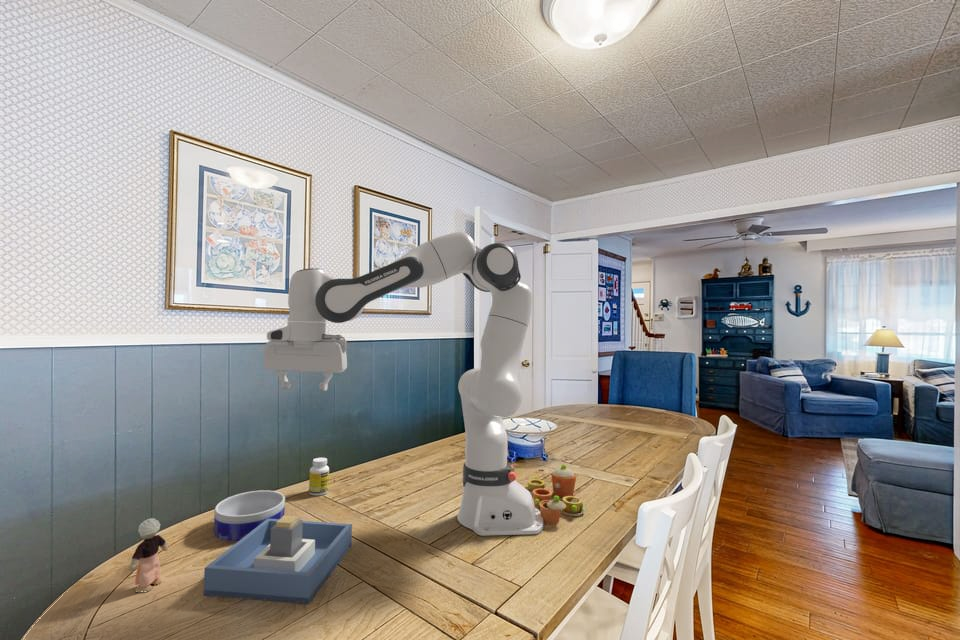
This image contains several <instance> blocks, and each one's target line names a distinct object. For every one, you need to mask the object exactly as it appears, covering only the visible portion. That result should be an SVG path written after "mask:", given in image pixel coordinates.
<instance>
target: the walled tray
mask: <svg viewBox="0 0 960 640" xmlns="http://www.w3.org/2000/svg"><path fill="white" fill-rule="evenodd" d="M278 520H279V519H266V520H265V521H264V522H263V523H261V524H260V525H259V526H258V527H256V528H255V529H254V530H252V531H251V532H250V533H249V534H247V535H246V536H245V537H243V538H242V539H241V540H240V541H236V543H234V544H233V545H232V546H230V547H229V548H228V549H226V551H224V552H223V553H221V554H220V555H219V556H218V557H216V558H215V559H214V560H213V561H211V562H210V563H208V565H206V566H205V567H204V574H203V575H204V576H203V579H204V580H203V596H210V597H223V598H233V599H243V600H244V599H245V600H246V599H247V600H256V601H257V600H258V601H267V602H269V601H270V602H278V603H279V602H281V603H283V602H284V603H292V604H305V605H306V604H307V605H309V604H310V602H311V601H312V600H313V599H314V597H315V596H316V595H317V593H318V592H319V590H320V589H322V587H323V585H324V584H325V582H327V580H328V578H329V577H330V576H331V575H332V573H333V572H334V571H335V569H336V568H337V566H338V564H339V563H340V562H341V561H342V560H343V558H344V557H345V555H346V554H347V553H348V552H349V550H350V548H352V535H353V524H352V523H339V522H325V521H324V522H323V521H309V520H303V528H302V548H301V549H300V550H299V551H298V552H297V553H296V554H295V555H294V556H293V557H292V558H291V557H278V556H270V539H271V528H272V527H273V526H274V525H276V522H277V521H278Z"/></svg>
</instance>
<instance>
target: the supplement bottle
mask: <svg viewBox="0 0 960 640" xmlns="http://www.w3.org/2000/svg"><path fill="white" fill-rule="evenodd" d="M327 464H328V458H327V457H317V458H313V460H312V466H311V467H310V469H309V480H308V483H309V485H308V493H309V495H311V496H316V497H317V496H322V495H325V494H327V493H328V492H329V482H330V481H329V479H330V467H329V466H328V465H327Z"/></svg>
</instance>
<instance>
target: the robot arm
mask: <svg viewBox="0 0 960 640" xmlns="http://www.w3.org/2000/svg"><path fill="white" fill-rule="evenodd" d="M519 268H520V267H519V261H518V256H517V254H516V252H515V251H514V249H513V248H512V247H510V246H509V244H508V245H507V244H505V243H502V242H496V243H490V244H488V245H486V246H484V247H483V248H480V247H478V246H477V245H476V242H475V241H474V239H473V237H471V235H469V234H468V233H466V232H465V231H455V232H450V233H447V234H443V235H440V236H438V237H435V238H433V239H432V238H431V239H430V240H428V241H426V242H423V243H421V244H419V245H418V246H416V247H414V248H412V249H410V250H409V251H408V252H406V253H405V254H403V255H402V256H401V257H399V258H397V259H396V260H394V261H393V262H391V263H388V264H387V265H384V266H382V267H380V268H377V269H375V270H373V271H370V272H367V273H366V274H363V275H360V276H358V277H357V276H356V277H353V278H336V277H334V276H333V275H330V274H329V273H328V272H326V271H325V270H323V268H322V269H321V268H316V267H314V268H311V267H310V268H303V269H299V270H296V271H295V272H294V273H292V275H291V278H290V281H289V287H288V296H287V297H288V298H287V299H288V300H287V305H288V308H289V312H288V313H289V315H288V317H287V325H286V326H284V327H279V328H277V329H273V330H270V331H268V332H267V333H266V339H267V340H268V342H266V343H265V346H264V350H263V358H262V359H263V360H262V365H263V367H264V369H265V370H266V371H277V376H278V378H279V380H280V382H281V389H282V390H290V389H291V388H292V380H288V378H287V375H288V373H289V372H308V373H309V372H311V373H312V372H313V373H314V372H315V373H323V377H325V378H324V379H323V381H322V382H319V383H318V391H323V392H325V391H328V390H329V389H328V388H329V387H328V386H329V382H330V381H331V379H332V378H333V374H334V373H339V374H340V373H343V372H345V371H346V369H347V368H348V358H347V357H348V355H347V349H348V340H347V339H346V337H344V336H342V335H341V334H329V333H328V334H327V333H326V326H327V325H326V324H327V321H329V322H330V323H335V324H341V323H342V324H343V323H347V322H351V321H353V320H355V319H357V318H358V317H360V315H362V313H363V312H364V310H365V309H364V308H365V307H366V305H367V304H369V303H370V302H373V301H375V300H377V299H380V298H382V297H383V296H386V295H389V294H392V293H394V292H396V291H398V290H400V289H404V288H405V289H406V288H425V287H429V286H433V285H436V284H439V283H441V282H443V281H446V280H447V279H450V278H453V277H454V276H457V275H460V274H462V275H463V276H464V277H465V278H466V279H467V280H468V281H469V283H471V284H472V286H473V287H474V288H475V289H477V290H479V291H481V292H485V293H490V294H491V298H492V299H491V307H490V309H489V313H488V316H487V320H486V323H485V326H484V329H483V333H482V337H481V340H480V349H481V362H480V367H477V368H472V369H469V370H467V371H465V372H464V373H463V374H462V375H461V376H460V378H459V381H458V385H457V388H458V392H459V395H460V400H461V408H462V416H463V422H464V424H463V425H464V430H465V431H464V433H465V447H464V448H465V454H464V463H463V466H462V486H463V489H462V497H461V501H460V507H459V509H458V514H457V517H456V518H457V521H458V523H459V524H460V525H462V526H464V527H465V528H468V529H469V530H471V531H473V532H474V533H475V534H476V535H479V536H482V537H483V536H513V535H514V536H515V535H516V536H517V535H520V536H521V535H537V534H540V533H541V532H542V531H543V530H544V524H545V523H544V522H543V518H542V517H541V514H540V509H539V508H538V507H536V506H535V505H534V500H533V496H532V495H531V493H530V492H529V491H528V490H527V489H526V488H525V487H524V485H522V484H520V483H519V482H518V481H517V480H516V479H517V473H516V471H515V468H514V466H513V465H512V464H511V465H510V464H508V433H507V430H506V428H505V425H504V421H503V418H508V417H510V416H512V415H514V414H515V413H516V412H517V411H518V410H519V409H520V407H521V405H522V401H523V392H522V388H521V385H520V362H521V356H522V355H521V353H522V350H523V346H524V341H525V339H526V335H527V331H528V328H529V325H530V324H529V323H530V320H531V315H532V309H533V301H534V300H533V297H534V295H533V291H532V289H531V288H530V287H529V286H528V285H527V284H525V283H523V282H521V275H522V274H521V272H520V269H519Z"/></svg>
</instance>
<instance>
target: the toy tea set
mask: <svg viewBox="0 0 960 640" xmlns="http://www.w3.org/2000/svg"><path fill="white" fill-rule="evenodd" d="M550 475H551V477H550V478H551V483H552V491H551V490H550V489H548V488H546V487H545V486H546V482H545V481H544V480H542V479H540V478H539V479H538V478H534V477H531V478H530V479H528V480H527V486H526V485H525V484H523V487H524V488H525V489H527V490H528V491H529V492H530V493H531V495H532V498H533V500H534V505H535V507H536V506H537V507H536V508H538V507H540V508H539V511H540V514H541V517H542V518H543V523H544V524H546V523H547V524H546V525H557V524H558V523H559V522H560V518H561V513H562V514H564V515H565V516H569V517H580V515H581V516H583V515H584V514H585V513H584V512H585V509H584V503H583V500H582V498H581V497H578V496H574V493H575V485H576V482H577V475H576V473H574V472H573V471H572V469H569V468H568V467H567V465H566V464H565V463H563V464H561V466H560V467H558V468H556V469H554V470H553V471H552V472H551V474H550ZM554 495H555V496H554ZM552 498H553V499H552ZM560 498H563V499H561V500H560ZM582 514H583V515H582ZM556 523H557V524H556Z"/></svg>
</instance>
